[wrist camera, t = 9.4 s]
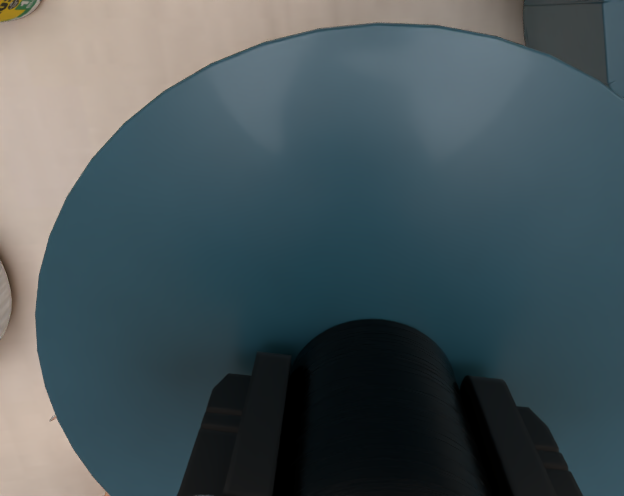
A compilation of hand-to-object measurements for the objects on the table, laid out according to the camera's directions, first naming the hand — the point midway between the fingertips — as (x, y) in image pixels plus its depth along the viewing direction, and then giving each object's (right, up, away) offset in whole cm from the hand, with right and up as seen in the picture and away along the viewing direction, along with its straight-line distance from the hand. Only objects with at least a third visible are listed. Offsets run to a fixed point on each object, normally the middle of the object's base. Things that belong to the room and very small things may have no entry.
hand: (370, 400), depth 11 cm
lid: (0, 0, +1) cm, 1 cm away
